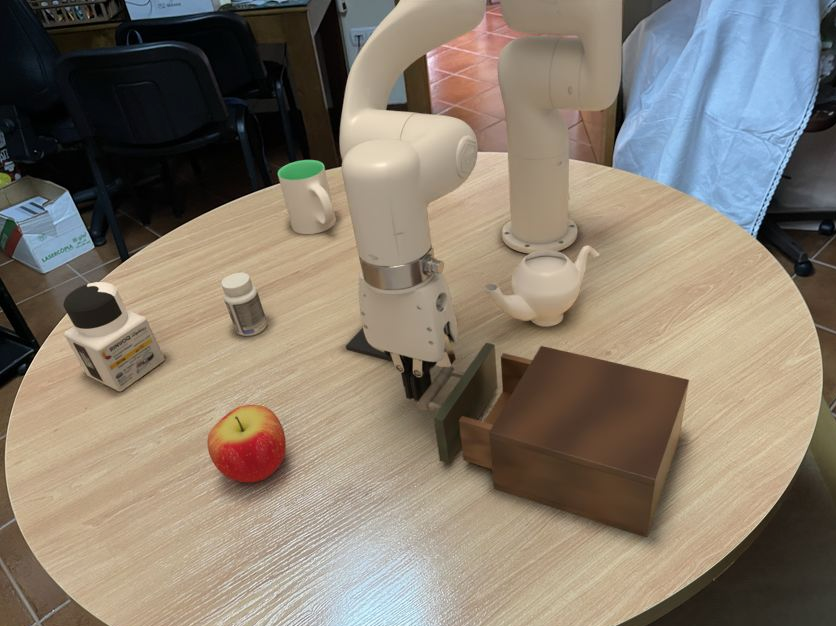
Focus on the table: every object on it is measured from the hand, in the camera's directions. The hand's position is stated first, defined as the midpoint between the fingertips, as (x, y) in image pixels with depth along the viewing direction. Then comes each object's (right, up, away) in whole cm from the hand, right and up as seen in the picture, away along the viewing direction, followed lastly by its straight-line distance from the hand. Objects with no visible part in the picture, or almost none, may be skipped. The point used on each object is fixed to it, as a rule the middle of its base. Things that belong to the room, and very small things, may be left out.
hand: (418, 392), depth 83 cm
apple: (-19, -9, -3) cm, 21 cm away
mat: (-4, +7, +15) cm, 17 cm away
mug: (-21, +27, +42) cm, 54 cm away
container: (-42, +2, +14) cm, 44 cm away
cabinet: (+19, -7, -6) cm, 22 cm away
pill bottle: (-26, +8, +20) cm, 34 cm away
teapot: (+17, +10, +16) cm, 25 cm away
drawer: (+11, -5, -3) cm, 12 cm away
